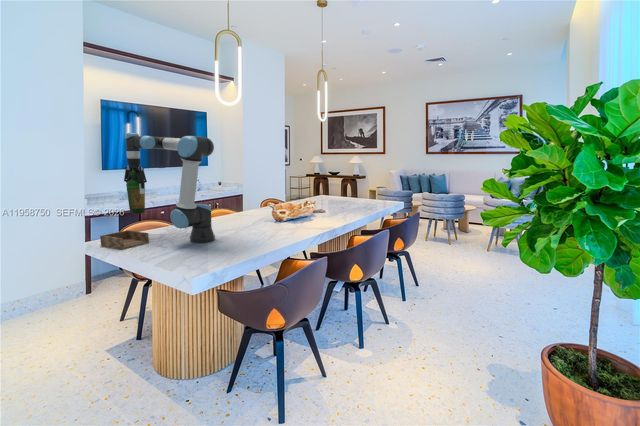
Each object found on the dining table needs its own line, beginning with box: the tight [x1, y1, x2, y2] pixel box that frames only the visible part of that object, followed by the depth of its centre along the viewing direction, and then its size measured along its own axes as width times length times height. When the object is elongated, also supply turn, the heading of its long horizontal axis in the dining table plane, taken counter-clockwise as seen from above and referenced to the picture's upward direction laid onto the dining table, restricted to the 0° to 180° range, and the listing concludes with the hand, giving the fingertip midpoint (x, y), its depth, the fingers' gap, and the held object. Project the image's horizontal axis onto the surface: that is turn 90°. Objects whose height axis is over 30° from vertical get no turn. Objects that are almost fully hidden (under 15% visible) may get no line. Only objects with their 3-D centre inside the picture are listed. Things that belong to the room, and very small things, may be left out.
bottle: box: [125, 169, 146, 215], centre depth 232 cm, size 11×11×28 cm
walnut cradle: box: [99, 229, 150, 251], centre depth 217 cm, size 18×18×6 cm
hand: (136, 193), depth 232 cm, fingers closed on bottle, 10 cm apart
